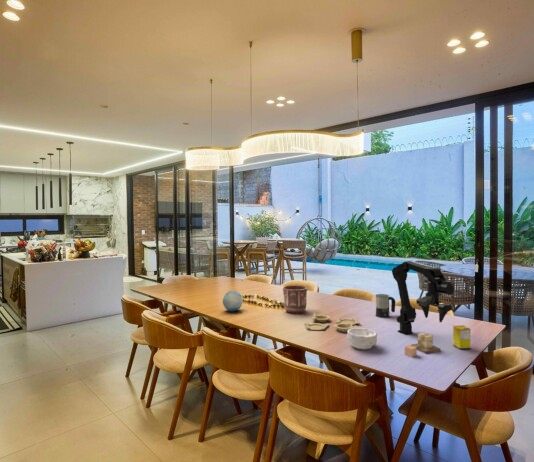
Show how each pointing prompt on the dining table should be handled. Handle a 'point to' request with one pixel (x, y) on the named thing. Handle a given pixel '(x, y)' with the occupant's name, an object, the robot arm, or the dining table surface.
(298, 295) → the pottery
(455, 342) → the supplement box
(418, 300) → the robot arm
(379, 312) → the milk frother
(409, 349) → the terracotta cube
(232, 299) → the decorative ball
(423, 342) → the oak block
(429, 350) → the walnut block
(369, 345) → the paper bowls
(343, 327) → the tableware set
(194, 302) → the dining table surface
